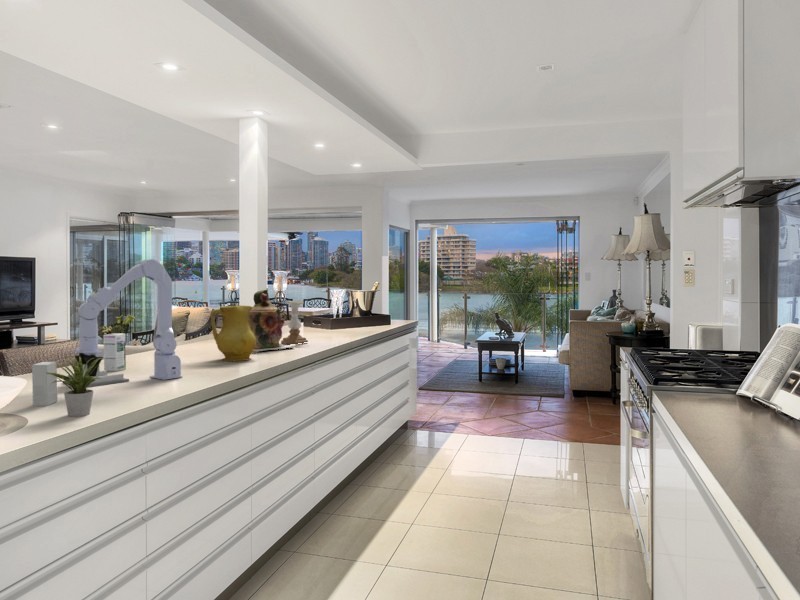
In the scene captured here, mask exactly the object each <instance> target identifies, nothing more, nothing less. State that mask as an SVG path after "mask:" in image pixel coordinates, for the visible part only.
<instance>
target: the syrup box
mask: <svg viewBox="0 0 800 600" xmlns="http://www.w3.org/2000/svg"><path fill="white" fill-rule="evenodd" d="M102 337H103V357H104V358H103V371H107V372H118V371H124V370H127V367H126V365H127V361H126V355H127V354H126V334H125V333H119V332H117V333H116V332H114V333H108V334H103V336H102Z"/></svg>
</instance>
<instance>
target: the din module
mask: <svg viewBox="0 0 800 600" xmlns="http://www.w3.org/2000/svg"><path fill="white" fill-rule="evenodd" d="M84 367H85V364H84V365H83V370H84ZM87 370H88V368H87V365H86V367H85V370H84V373H83V377H84V375H85V373H86V371H87ZM99 371H100V365H99V366H98V370H97V373H96V376H98V377H99ZM88 376H89V375H88ZM87 378H88V377H87Z"/></svg>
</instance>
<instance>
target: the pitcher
mask: <svg viewBox="0 0 800 600" xmlns="http://www.w3.org/2000/svg"><path fill="white" fill-rule="evenodd" d="M252 308H253V306H251V305H231V306H230V305H226V306H222V305H221V306H220V307H219V308H214V309H213V310H212V311H211V314H210V321H211V323H210V324H211V325H210V326H211V328H212V330H211V331H212V336H213V339H214V341H215V344H216V346H217V350H219V352H220V353H222V354H223V356H224V358H222V360H223V361H226V362H242V361H250V360H251V358H250V356H251V355H252V354H253V353H255V352H254V351H253V349H254V347H255V346H256V338H255V336H254V334H253V332H252V331H251V329H250V327H249V324H248V315H249V312H250V311H251V309H252ZM217 314H220V315H221V316H222V320H223V321H222V327H221V329H220V331H219V333H218V331H217V327H216V323H215V316H216V315H217ZM249 359H250V360H249Z"/></svg>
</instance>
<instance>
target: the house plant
mask: <svg viewBox="0 0 800 600" xmlns="http://www.w3.org/2000/svg"><path fill="white" fill-rule="evenodd" d="M102 358H103V359H104V356H103V357H102ZM64 359H65V360H66V362H68V363H69V365H70V366H71V368H72V370H73V371H72V370H71V369H70V368H69V367H68V366H67V365H66V364H63V363H59V362H57V361H52V362H53V363H57V367H59V368H61V369H62V370H63V371H64V372H66V374H67V375H64V374H61V373H47V374H51V375H54V376H56V377H57V381H54V382H57V383H59V382H62V384H63V385H65V386H67V387H68V388H69V389H70V390H67V391H64V392H63V396H64V401H65V406H66V411H67V416H68V417H74V418H78V417H85V416H88V415H90V413H91V408H92V401H93V396H94V390H93V389H88V387H87V386H88V385H89V384H90V383H92V382H94V381H97V380H94V379H100V378H94V377H98V376H90V375H89V376H88V374H89V372H90V371H91V370H92V368H93V367H94V365H95V363H96V362H97V361H98V360H99V359H101V358H98V359H96V360H94V361H93V362H92V363H91V364H90V366H89V368H88V370H87V371H86V373H85V375H84V377H83V373H84V370H85V367H86V365H87V363H88V362H89V361H90V360H91V359H90V360H88V361H87V363H86V364H85V367H84V370H83V364H82V362H81V357H80V356H79V363H78V362H77V360H76V358H75V357H72V359H73V363H72V362H71V361H70V360H69V359H67V358H66V357H64ZM92 359H94V358H92ZM58 364H59V365H58ZM98 365H99V366H100V364H98ZM98 365H97V366H98ZM97 366H96V367H97ZM96 367H95V368H96ZM73 372H74V373H73ZM92 372H93V371H92ZM92 372H91V373H92ZM91 373H90V374H91ZM68 375H69V376H70V377H71V379H70V378H69V377H68ZM71 375H73V377H72V376H71ZM56 377H54V378H56ZM87 377H88V378H87ZM92 378H93V379H92ZM65 381H66V382H65ZM54 382H53V383H54ZM64 382H65V383H67V384H65V383H64Z"/></svg>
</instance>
